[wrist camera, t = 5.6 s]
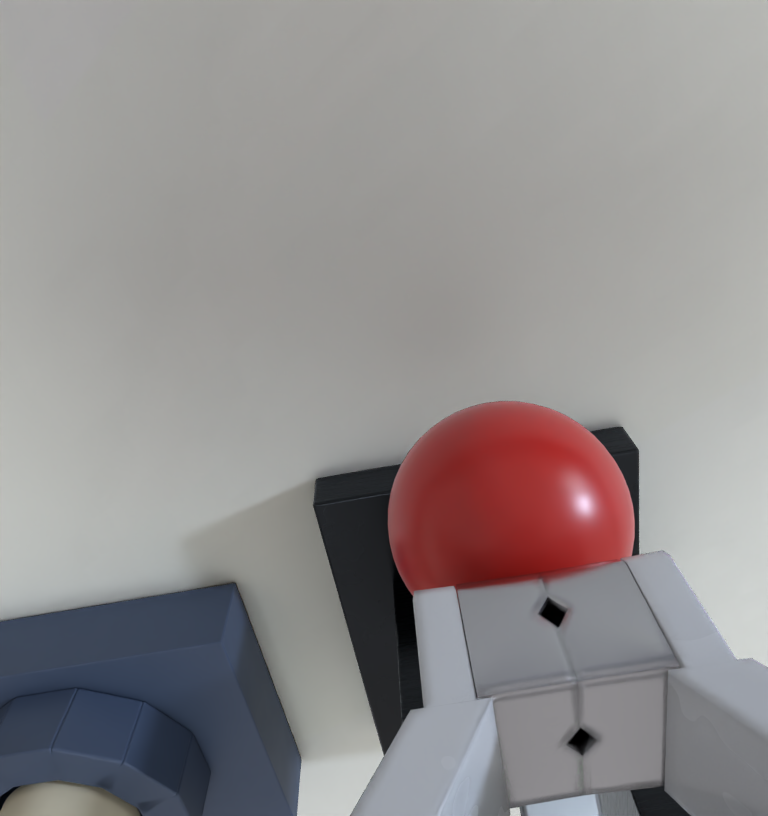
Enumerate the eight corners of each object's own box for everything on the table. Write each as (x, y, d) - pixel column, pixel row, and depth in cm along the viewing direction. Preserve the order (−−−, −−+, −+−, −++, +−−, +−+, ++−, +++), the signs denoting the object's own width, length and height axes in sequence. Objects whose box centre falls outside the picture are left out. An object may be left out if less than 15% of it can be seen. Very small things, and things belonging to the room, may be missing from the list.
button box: (-97, 636, 19) (-199, 765, 16) (235, 582, 19) (207, 702, 15) (20, 800, 23) (-41, 934, 20) (301, 758, 23) (291, 888, 19)
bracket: (315, 477, 17) (232, 1260, 6) (622, 424, 17) (1155, 1160, 6) (383, 726, 22) (410, 1435, 11) (626, 689, 22) (923, 1388, 10)
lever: (376, 423, 12) (357, 423, 8) (577, 388, 12) (645, 373, 8) (497, 1115, 12) (530, 1427, 8) (706, 1090, 11) (837, 1398, 8)
